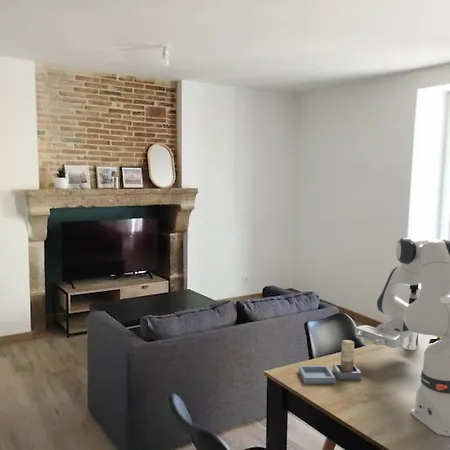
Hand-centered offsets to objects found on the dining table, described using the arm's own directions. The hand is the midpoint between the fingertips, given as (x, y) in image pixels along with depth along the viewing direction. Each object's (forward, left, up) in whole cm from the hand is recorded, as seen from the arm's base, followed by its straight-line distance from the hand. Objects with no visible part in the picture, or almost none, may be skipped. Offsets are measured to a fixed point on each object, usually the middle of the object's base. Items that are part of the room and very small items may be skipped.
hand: (366, 339), depth 210 cm
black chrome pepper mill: (+32, -34, -13) cm, 48 cm away
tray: (-9, +23, -13) cm, 28 cm away
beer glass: (+24, -30, -13) cm, 40 cm away
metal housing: (-7, +10, -13) cm, 18 cm away
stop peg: (-7, +10, -13) cm, 18 cm away
